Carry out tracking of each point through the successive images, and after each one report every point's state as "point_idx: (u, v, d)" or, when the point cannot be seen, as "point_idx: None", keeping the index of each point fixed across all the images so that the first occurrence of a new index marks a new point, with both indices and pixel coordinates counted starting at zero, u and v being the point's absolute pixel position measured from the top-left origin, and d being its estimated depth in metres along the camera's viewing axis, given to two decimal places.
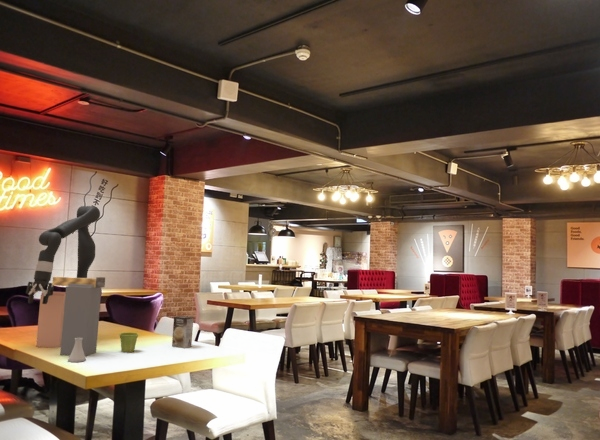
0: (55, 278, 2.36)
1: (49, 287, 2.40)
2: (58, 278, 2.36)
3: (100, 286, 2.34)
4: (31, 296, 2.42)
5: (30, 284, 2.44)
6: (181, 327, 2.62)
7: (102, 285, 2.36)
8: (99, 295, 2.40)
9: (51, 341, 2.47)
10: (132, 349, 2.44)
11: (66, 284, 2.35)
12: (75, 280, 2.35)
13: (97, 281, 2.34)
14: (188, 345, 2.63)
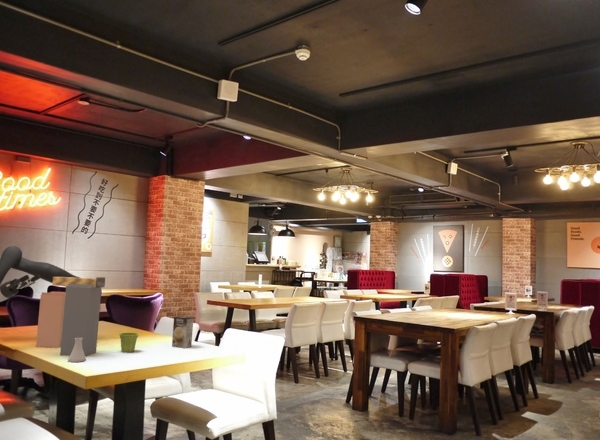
0: (55, 278, 2.36)
1: (11, 286, 2.33)
2: (58, 278, 2.36)
3: (100, 286, 2.34)
4: (33, 280, 2.43)
5: (25, 285, 2.45)
6: (181, 327, 2.62)
7: (102, 285, 2.36)
8: (99, 295, 2.40)
9: (51, 341, 2.47)
10: (132, 349, 2.44)
11: (66, 284, 2.35)
12: (75, 280, 2.35)
13: (97, 281, 2.34)
14: (188, 345, 2.63)
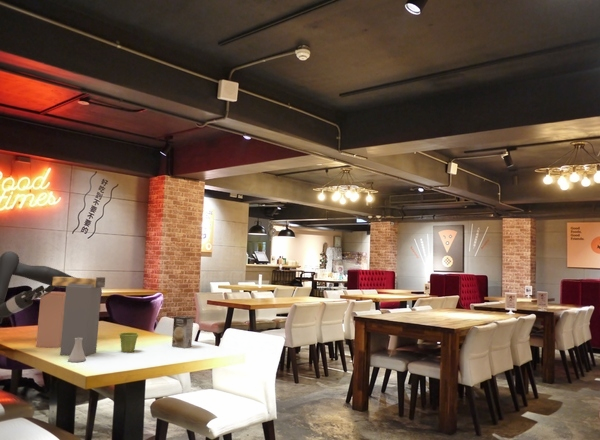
0: (55, 278, 2.36)
1: (26, 297, 2.31)
2: (58, 278, 2.36)
3: (100, 286, 2.34)
4: (48, 290, 2.42)
5: (40, 296, 2.43)
6: (181, 327, 2.62)
7: (102, 285, 2.36)
8: (99, 295, 2.40)
9: (51, 341, 2.47)
10: (132, 349, 2.44)
11: (66, 284, 2.35)
12: (75, 280, 2.35)
13: (97, 281, 2.34)
14: (188, 345, 2.63)
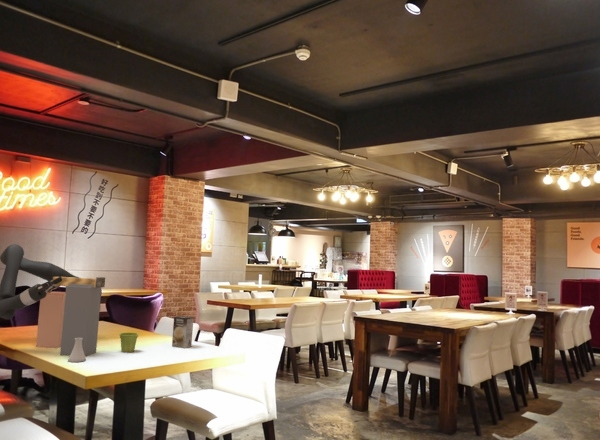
0: (55, 278, 2.36)
1: (43, 288, 2.32)
2: None
3: (100, 286, 2.34)
4: None
5: (54, 288, 2.43)
6: (181, 327, 2.62)
7: (102, 285, 2.36)
8: (99, 295, 2.40)
9: (51, 341, 2.47)
10: (132, 349, 2.44)
11: (66, 284, 2.35)
12: (75, 280, 2.35)
13: (97, 281, 2.34)
14: (188, 345, 2.63)
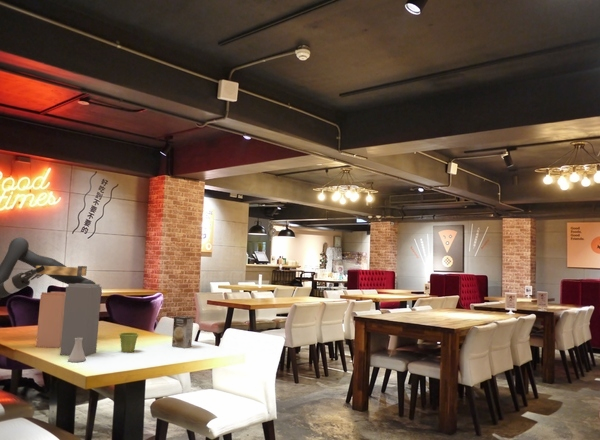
0: (37, 267, 2.44)
1: (26, 276, 2.40)
2: None
3: (81, 274, 2.43)
4: None
5: (37, 276, 2.51)
6: (181, 327, 2.62)
7: (84, 273, 2.45)
8: (99, 295, 2.40)
9: (51, 341, 2.47)
10: (132, 349, 2.44)
11: (48, 272, 2.44)
12: (57, 269, 2.43)
13: (79, 270, 2.42)
14: (188, 345, 2.63)
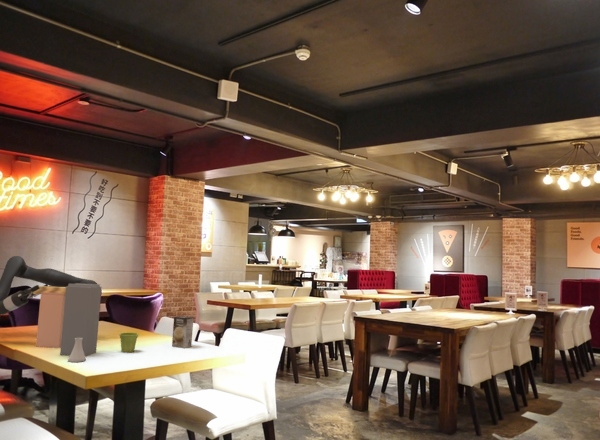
0: None
1: (22, 296, 2.49)
2: None
3: None
4: None
5: (35, 295, 2.61)
6: (181, 327, 2.62)
7: None
8: (99, 295, 2.40)
9: (51, 341, 2.47)
10: (132, 349, 2.44)
11: None
12: (54, 289, 2.52)
13: None
14: (188, 345, 2.63)
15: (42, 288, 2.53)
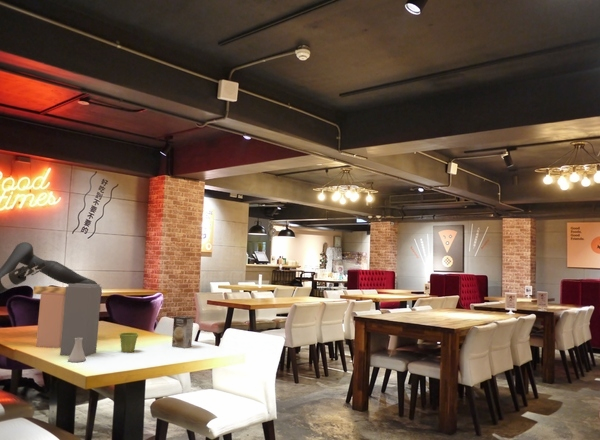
0: (35, 287, 2.53)
1: (19, 273, 2.47)
2: (38, 287, 2.53)
3: None
4: (40, 267, 2.57)
5: (32, 273, 2.59)
6: (181, 327, 2.62)
7: None
8: (99, 295, 2.40)
9: (51, 341, 2.47)
10: (132, 349, 2.44)
11: None
12: (54, 289, 2.52)
13: None
14: (188, 345, 2.63)
15: (42, 288, 2.53)
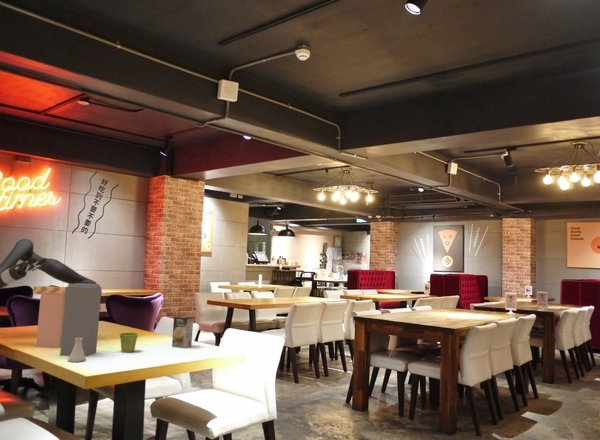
0: (35, 287, 2.53)
1: (20, 269, 2.44)
2: (38, 287, 2.53)
3: None
4: (40, 263, 2.54)
5: (33, 269, 2.56)
6: (181, 327, 2.62)
7: None
8: (99, 295, 2.40)
9: (51, 341, 2.47)
10: (132, 349, 2.44)
11: None
12: (54, 289, 2.52)
13: None
14: (188, 345, 2.63)
15: (42, 288, 2.53)
